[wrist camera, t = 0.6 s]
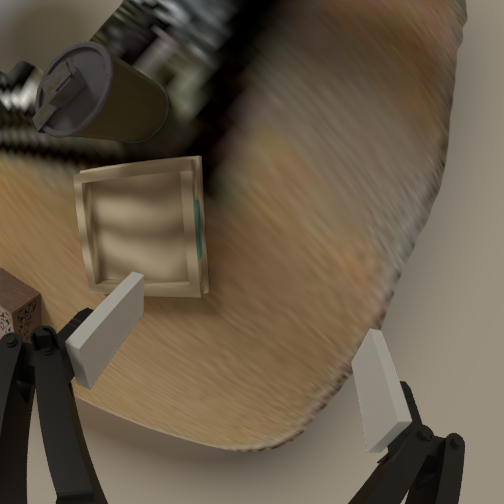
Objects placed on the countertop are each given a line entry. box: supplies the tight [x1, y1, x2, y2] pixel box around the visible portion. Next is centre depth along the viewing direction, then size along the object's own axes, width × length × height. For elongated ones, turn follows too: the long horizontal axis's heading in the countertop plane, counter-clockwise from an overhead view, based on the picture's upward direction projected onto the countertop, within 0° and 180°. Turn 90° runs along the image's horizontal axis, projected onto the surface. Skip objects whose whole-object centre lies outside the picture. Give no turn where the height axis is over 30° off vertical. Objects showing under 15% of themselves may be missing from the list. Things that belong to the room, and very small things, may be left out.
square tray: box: [74, 156, 210, 298], centre depth 40 cm, size 20×20×4 cm
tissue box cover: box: [0, 268, 42, 389], centre depth 46 cm, size 26×14×10 cm, turn 160°
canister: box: [33, 41, 169, 144], centre depth 27 cm, size 11×10×20 cm
